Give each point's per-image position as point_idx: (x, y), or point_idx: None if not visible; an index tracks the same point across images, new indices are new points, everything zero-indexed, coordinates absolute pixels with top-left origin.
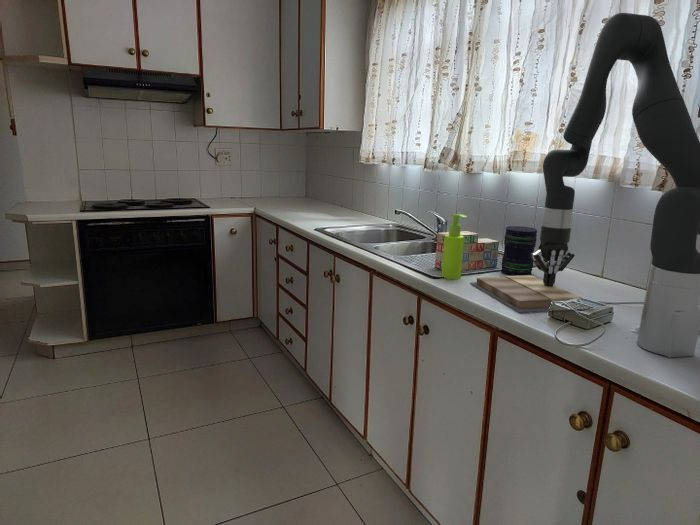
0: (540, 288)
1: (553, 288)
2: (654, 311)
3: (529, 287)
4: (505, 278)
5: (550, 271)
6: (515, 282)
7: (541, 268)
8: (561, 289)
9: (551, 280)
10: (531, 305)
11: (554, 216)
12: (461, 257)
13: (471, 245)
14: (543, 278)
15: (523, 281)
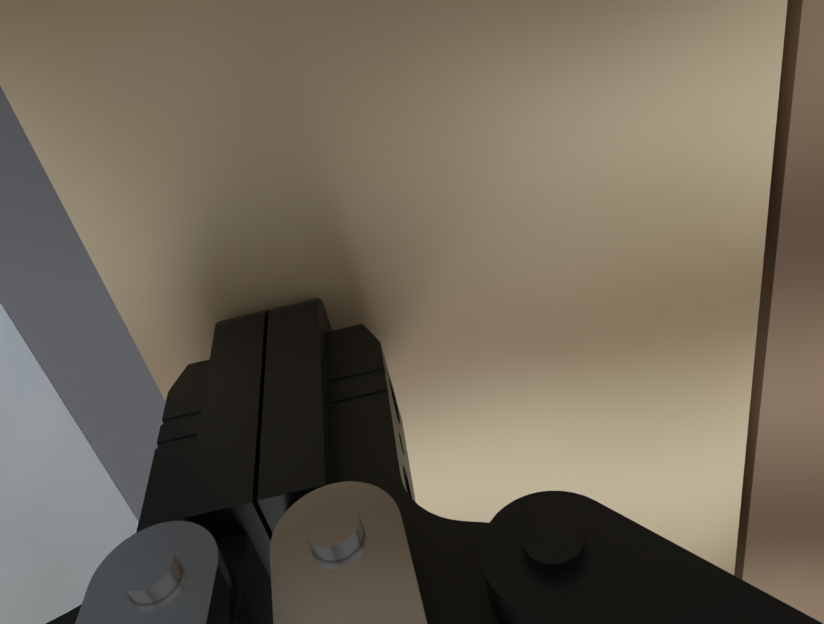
0: (558, 148)
1: (257, 185)
2: None
3: (756, 186)
4: (773, 590)
5: (347, 534)
6: (764, 456)
7: (697, 574)
8: (87, 128)
9: (270, 376)
10: None
11: None
12: None
13: None
14: (407, 465)
15: (624, 499)
